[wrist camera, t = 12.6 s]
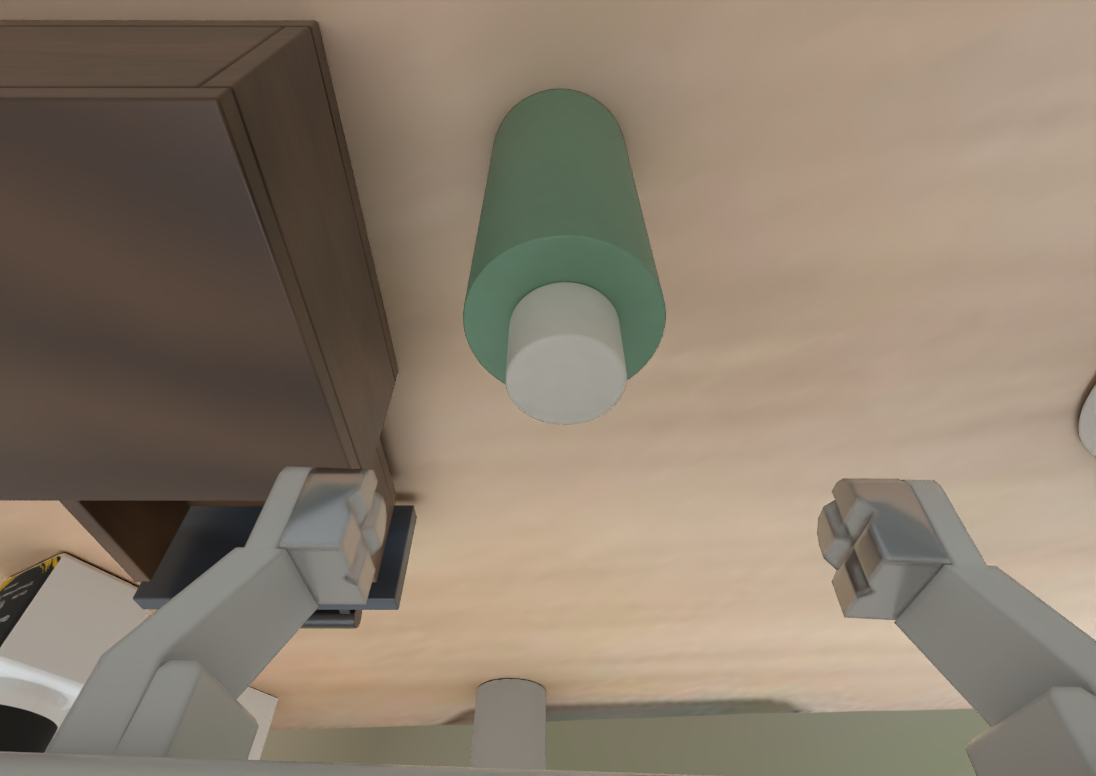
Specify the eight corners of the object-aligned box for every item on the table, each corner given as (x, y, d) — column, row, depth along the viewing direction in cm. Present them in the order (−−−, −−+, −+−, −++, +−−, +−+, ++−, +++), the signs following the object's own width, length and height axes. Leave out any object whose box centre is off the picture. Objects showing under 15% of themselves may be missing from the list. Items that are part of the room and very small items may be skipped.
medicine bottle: (63, 549, 39) (-78, 755, 30) (159, 595, 43) (60, 787, 34) (5, 577, 42) (-141, 775, 33) (102, 617, 46) (-5, 802, 37)
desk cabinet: (399, 371, 28) (362, 501, 23) (95, 371, 28) (-16, 501, 23) (318, 20, 18) (217, 98, 13) (-150, 19, 18) (-455, 97, 13)
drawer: (426, 554, 38) (411, 644, 33) (218, 553, 38) (176, 644, 33) (370, 337, 26) (334, 435, 21) (64, 337, 26) (-32, 435, 21)
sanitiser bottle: (631, 88, 20) (698, 288, 11) (620, 221, 23) (664, 457, 14) (487, 88, 20) (438, 289, 11) (497, 221, 23) (464, 457, 14)
